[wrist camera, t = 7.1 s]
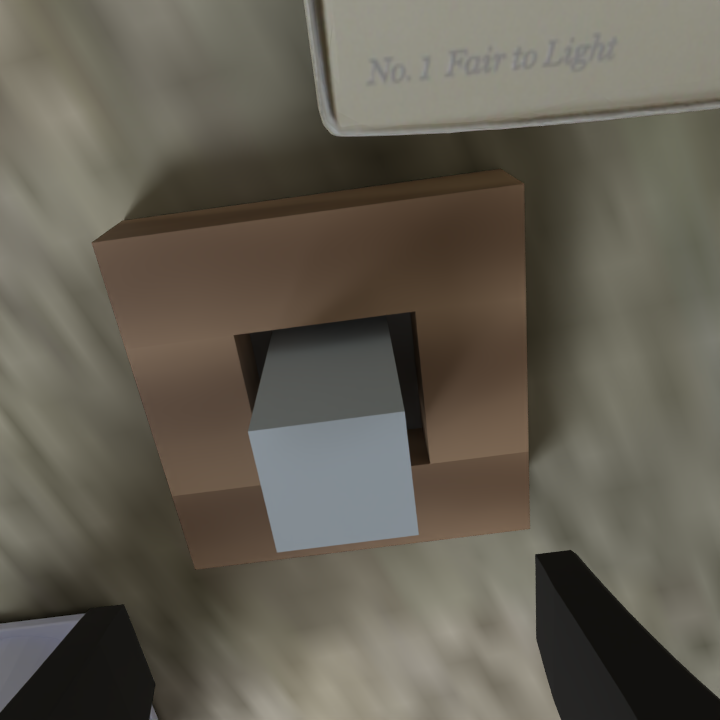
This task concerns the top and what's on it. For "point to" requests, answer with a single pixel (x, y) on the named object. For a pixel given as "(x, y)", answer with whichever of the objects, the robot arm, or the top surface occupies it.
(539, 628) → the robot arm
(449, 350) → the walnut socket block
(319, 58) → the skincare box
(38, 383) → the top surface
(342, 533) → the peg
